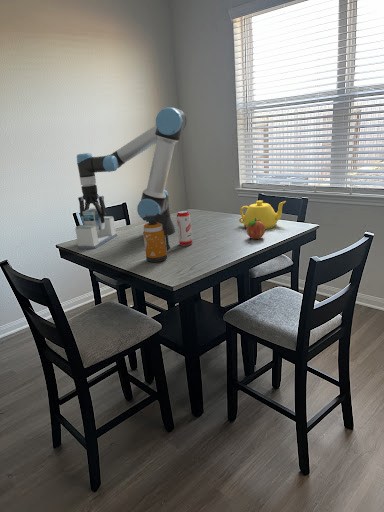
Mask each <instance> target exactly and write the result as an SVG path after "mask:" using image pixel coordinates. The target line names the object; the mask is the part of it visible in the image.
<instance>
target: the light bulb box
mask: <svg viewBox="0 0 384 512" xmlns="http://www.w3.org/2000/svg"><path fill="white" fill-rule="evenodd" d="M82 217H83V218H82V219H83V222H84V224H83V225H95V226H96V230H97V232H98V231H100V223H99V217H100V216H99V214H98V212H97V210H96V208H95V207H89V209H88V210H86V211H83V216H82ZM105 227H106V226H105V222H104V228H105Z"/></svg>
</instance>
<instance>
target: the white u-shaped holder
mask: <svg viewBox="0 0 384 512" xmlns="http://www.w3.org/2000/svg"><path fill="white" fill-rule="evenodd" d="M104 220H105V226H106V227H105V228H104V229H102V230H100V231H98V232H97V230H96V226H95V225H85V224H81V225H78V226H75V228H74V229H75V234H76V235H75V236H76V239H77V241H76V242H77V249H84V250H85V249H87V250H88V249H93V250H94V249H97V248H100V247H101V246H103V245H105V243H107V242H109V241H111V240H112V239H114V238H116V237H117V236H118V234H117V232H116V225H115V218H114V216H113V215H112V216H107V215H105V216H104Z"/></svg>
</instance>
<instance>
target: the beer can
mask: <svg viewBox="0 0 384 512" xmlns="http://www.w3.org/2000/svg"><path fill="white" fill-rule="evenodd" d="M176 221H177V222H176V223H177V231H178V233H177V234H178V243H179V245H180V246H182V247H187V246H191V245H192V243H193V234H192V225H191V214H190V212H189V210H179V211H177V214H176Z"/></svg>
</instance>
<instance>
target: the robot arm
mask: <svg viewBox="0 0 384 512" xmlns="http://www.w3.org/2000/svg"><path fill="white" fill-rule="evenodd" d="M187 122H188V119H187V116H186V113H185V112H184V111H183V110H182V109H180V108H177V107H171V106H169V107H164V108H163V109H160V110H159V112H157V115H156V117H155V125H153V126H152V127H150V128H149V129H147V130H145V132H143V133H141V134H140V135H137V136H136V137H135V138H133V139H132V140H131V141H129V142H127V143H126V144H124V145H123V146H121V147H120V148H119V149H117V150H115V151H113V152H112V153H111V154H107V155H101V156H93V155H92V153H91V152H84V153H83V152H82V153H79V154H76V165H77V169H78V173H79V175H78V176H79V181H80V186H81V192H82V196H80V197H78V198H77V200H78V202H79V214H80V216H81V217H83V211H86V210H88V209H90V206H91V204H92V205H93V206H94V208H96V210H97V212H98V214H99V216H100V217H99V223H100V230H102V229H104V222H105V220H104V216H107V215H108V212H107V209H106V205H105V201H104V200H105V197H104V195H102V196H101V195H99V194H98V187H97V181H96V173H110V172H111V173H112V172H115V171H117V169H120V168H121V167H122V166H123V165H125V164H126V163H128V162H130V160H132V159H134V158H135V157H137V156H139V155H140V154H142V153H143V152H145V151H147V150H148V149H149V148H151V147H153V146H155V149H154V154H153V158H152V163H151V167H150V172H149V176H148V181H147V186H146V188H145V189H143V190H142V194H141V198H140V199H141V200H140V201H139V202H138V204H137V207H136V208H137V209H136V212H137V214H138V215H139V217H140V219H142V220H143V218H144V217H145V216H146V215H148V216H149V215H156V214H160V215H162V216H164V217H166V218H168V221H167V230H168V231H167V233H168V235H171V234H174V233H175V232H176V227H175V224H174V223H173V220H172V217H171V209H170V201H169V192H168V191H167V190H166V189H165V188H166V186H167V181H168V176H169V173H170V172H169V171H170V168H171V163H172V159H173V154H174V150H175V145H176V144H177V143H178V142H180V138H181V134H182V132H183V131H185V128H186V126H187ZM160 219H161V218H160ZM161 220H163V219H161ZM145 221H146V220H145ZM163 221H165V220H163ZM162 228H163V230H164V225H163V224H162ZM164 234H165V230H164Z"/></svg>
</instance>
